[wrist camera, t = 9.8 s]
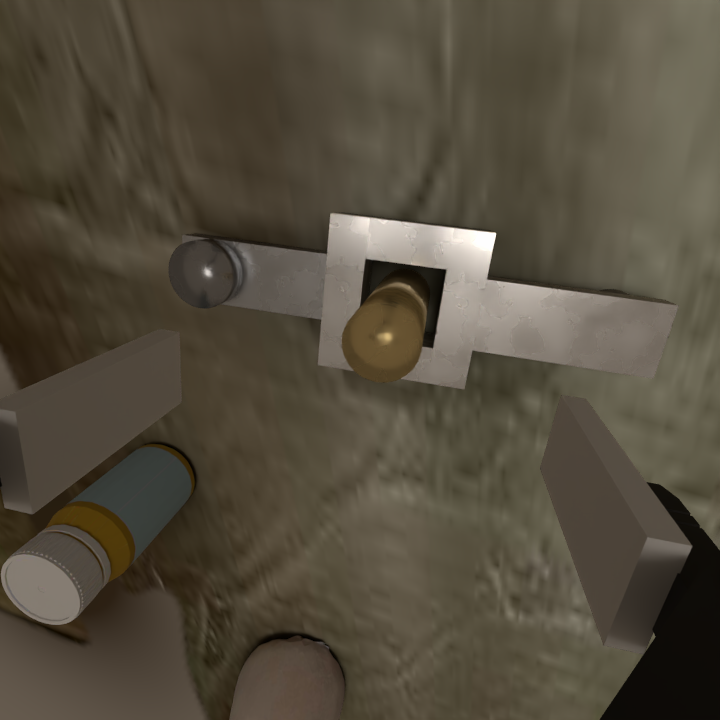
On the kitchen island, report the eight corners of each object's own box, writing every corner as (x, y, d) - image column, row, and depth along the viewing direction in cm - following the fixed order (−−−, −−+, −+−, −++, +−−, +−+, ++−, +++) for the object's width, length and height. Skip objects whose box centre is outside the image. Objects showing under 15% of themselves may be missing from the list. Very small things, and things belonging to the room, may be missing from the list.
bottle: (209, 468, 44) (100, 589, 30) (180, 514, 47) (66, 645, 33) (149, 427, 44) (11, 530, 30) (123, 475, 46) (-17, 591, 32)
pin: (382, 265, 35) (345, 299, 22) (433, 272, 35) (427, 311, 22) (375, 315, 36) (338, 375, 23) (425, 323, 36) (415, 388, 23)
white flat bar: (195, 194, 36) (166, 192, 32) (665, 251, 31) (695, 257, 28) (196, 328, 40) (170, 340, 36) (618, 396, 35) (639, 418, 31)
